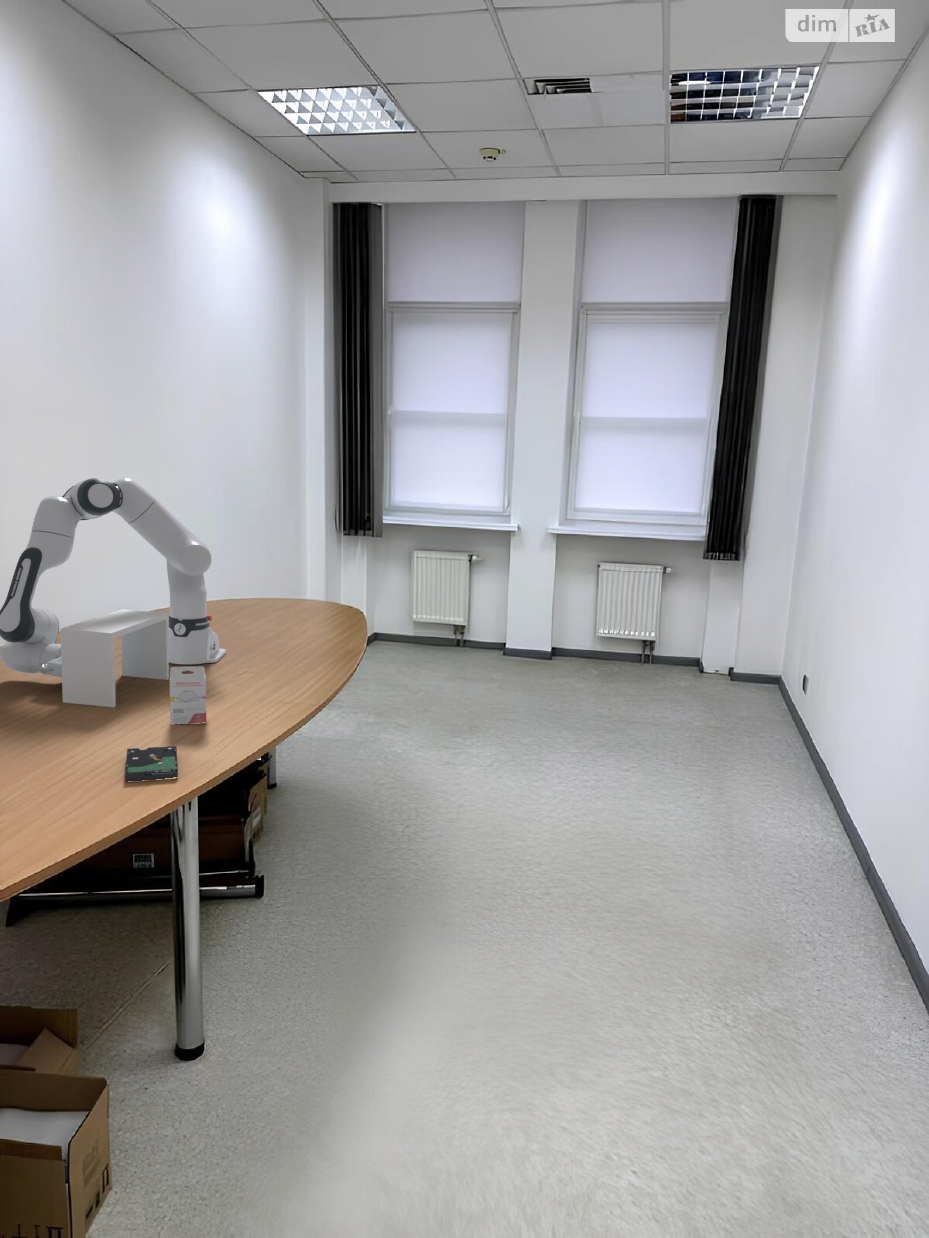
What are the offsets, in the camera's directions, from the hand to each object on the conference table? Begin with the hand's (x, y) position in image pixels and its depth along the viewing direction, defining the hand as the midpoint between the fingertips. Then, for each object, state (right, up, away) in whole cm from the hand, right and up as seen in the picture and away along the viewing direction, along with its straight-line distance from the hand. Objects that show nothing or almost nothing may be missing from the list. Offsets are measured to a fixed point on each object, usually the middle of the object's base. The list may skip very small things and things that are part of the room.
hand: (105, 664), depth 235 cm
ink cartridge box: (+30, -13, -23) cm, 40 cm away
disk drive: (+32, -20, -54) cm, 66 cm away
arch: (+3, -7, +1) cm, 8 cm away
